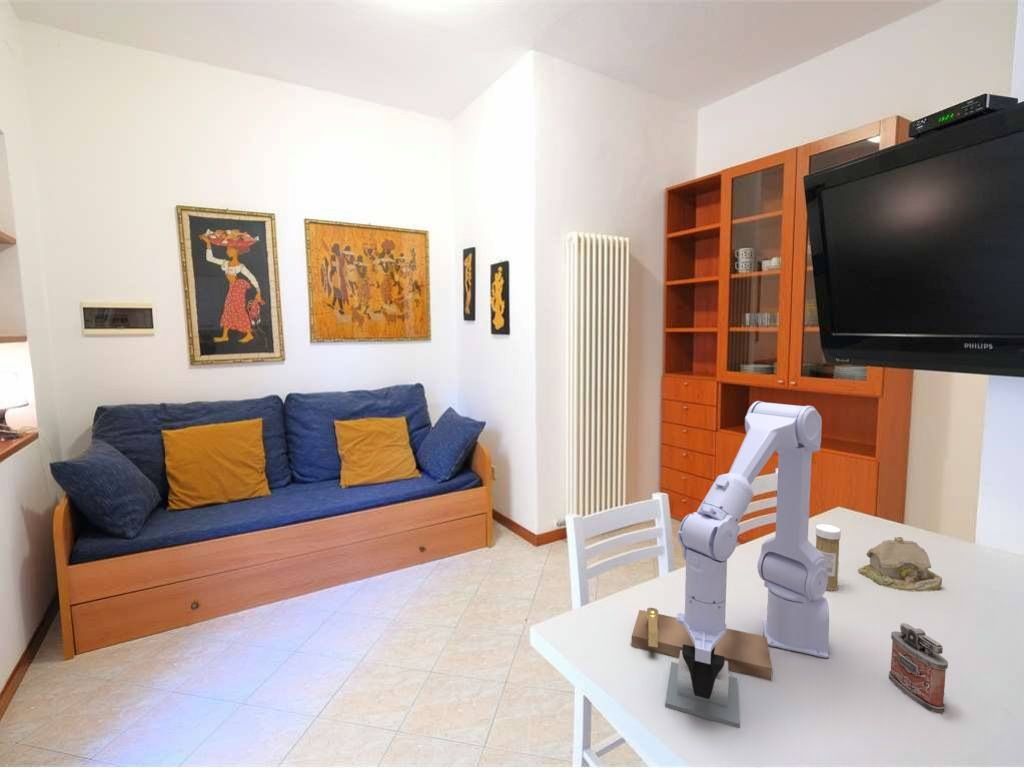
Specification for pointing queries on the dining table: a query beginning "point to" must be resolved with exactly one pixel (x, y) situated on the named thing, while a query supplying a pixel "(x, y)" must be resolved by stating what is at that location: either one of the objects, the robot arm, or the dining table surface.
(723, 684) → the light grey block
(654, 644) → the lever
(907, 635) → the lighter
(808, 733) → the dining table surface
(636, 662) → the dining table surface
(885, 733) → the dining table surface
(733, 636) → the brown wooden board
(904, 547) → the ceramic model
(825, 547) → the sprinkles bottle
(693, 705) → the mat
